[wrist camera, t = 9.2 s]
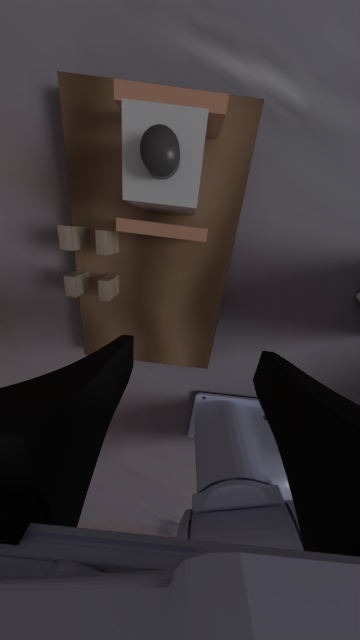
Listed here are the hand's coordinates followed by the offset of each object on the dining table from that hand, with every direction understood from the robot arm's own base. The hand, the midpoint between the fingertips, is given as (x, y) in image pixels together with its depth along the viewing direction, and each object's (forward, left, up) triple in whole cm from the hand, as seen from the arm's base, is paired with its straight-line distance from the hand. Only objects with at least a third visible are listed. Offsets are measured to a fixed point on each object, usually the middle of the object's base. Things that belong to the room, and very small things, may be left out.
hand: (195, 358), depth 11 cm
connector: (+3, -10, -8) cm, 13 cm away
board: (+4, -4, -9) cm, 11 cm away
